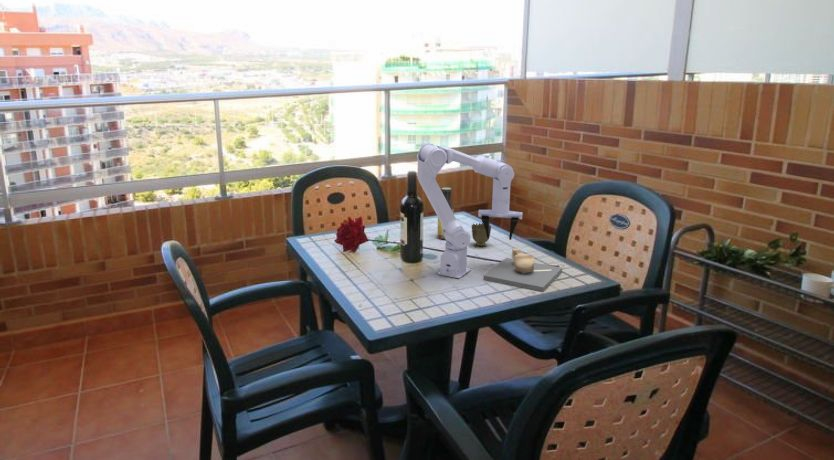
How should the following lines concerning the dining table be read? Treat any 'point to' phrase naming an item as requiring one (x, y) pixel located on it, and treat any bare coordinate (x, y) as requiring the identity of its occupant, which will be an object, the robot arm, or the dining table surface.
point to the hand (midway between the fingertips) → (499, 238)
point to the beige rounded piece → (522, 261)
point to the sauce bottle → (447, 196)
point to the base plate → (523, 275)
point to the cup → (480, 234)
